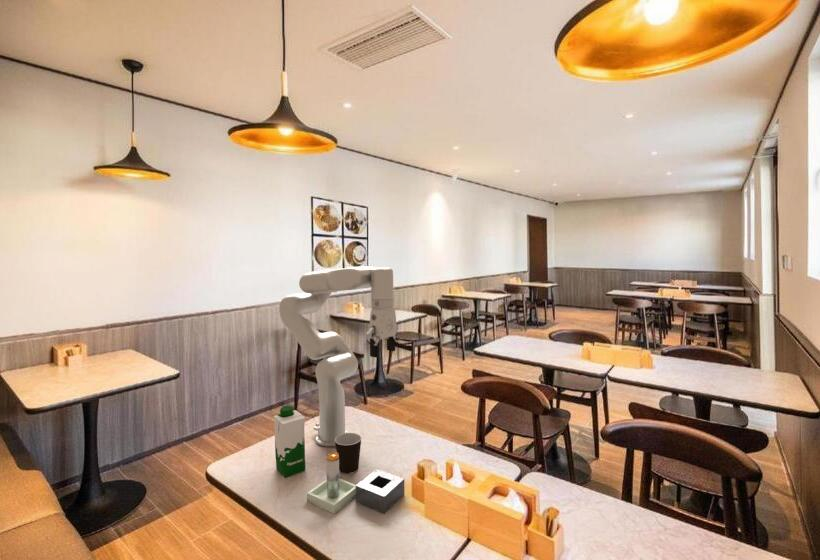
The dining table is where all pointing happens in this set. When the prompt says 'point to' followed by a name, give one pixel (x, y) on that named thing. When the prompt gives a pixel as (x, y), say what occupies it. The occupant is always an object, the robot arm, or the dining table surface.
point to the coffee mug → (348, 452)
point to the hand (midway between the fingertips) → (382, 353)
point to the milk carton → (289, 441)
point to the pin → (333, 475)
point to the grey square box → (380, 491)
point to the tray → (332, 505)
